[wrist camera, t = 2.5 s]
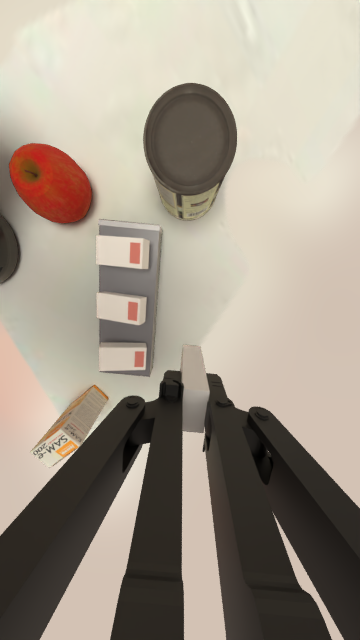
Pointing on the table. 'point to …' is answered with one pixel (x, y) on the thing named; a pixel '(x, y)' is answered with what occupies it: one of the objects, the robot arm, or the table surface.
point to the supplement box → (70, 428)
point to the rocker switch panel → (132, 289)
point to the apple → (50, 183)
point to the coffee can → (189, 147)
